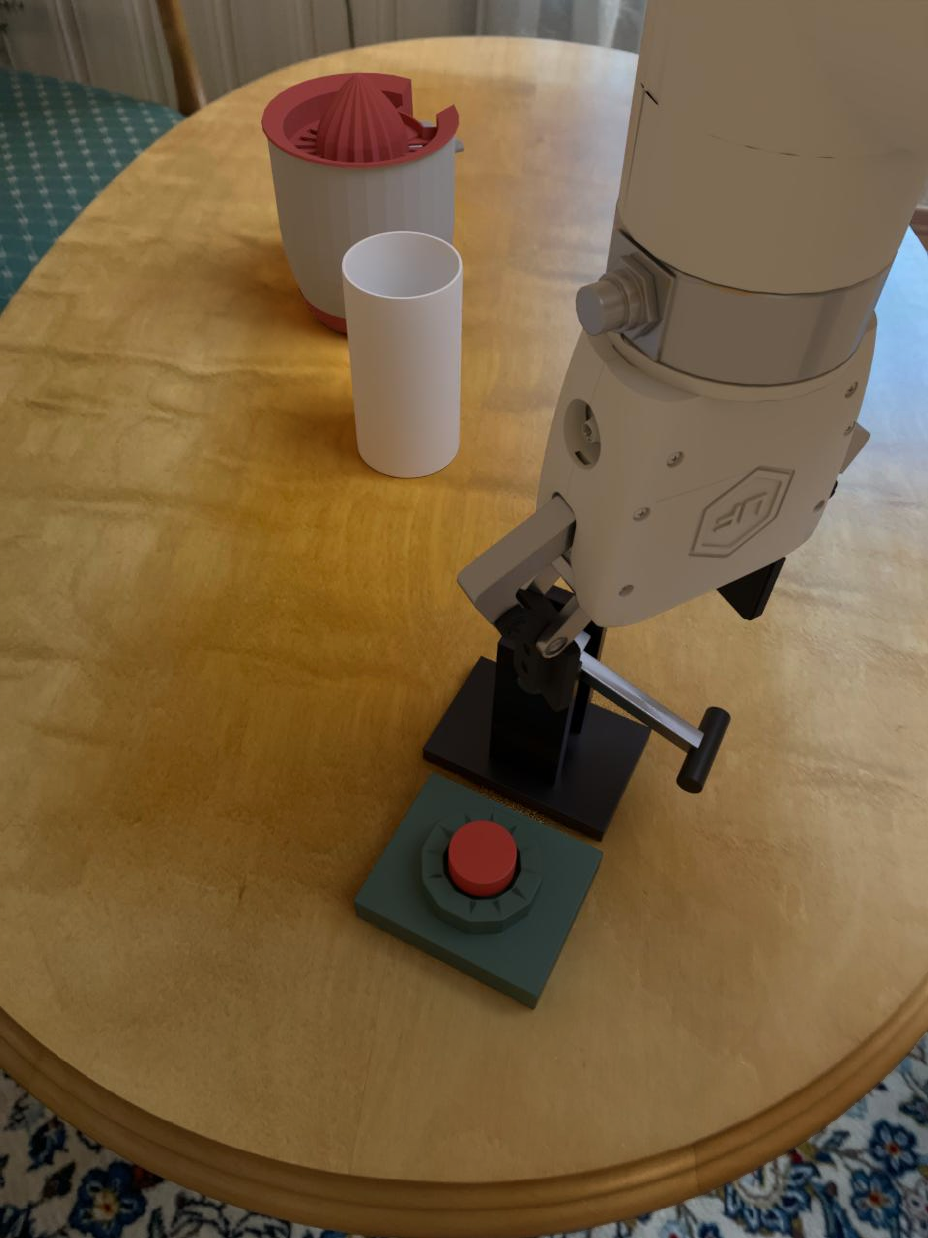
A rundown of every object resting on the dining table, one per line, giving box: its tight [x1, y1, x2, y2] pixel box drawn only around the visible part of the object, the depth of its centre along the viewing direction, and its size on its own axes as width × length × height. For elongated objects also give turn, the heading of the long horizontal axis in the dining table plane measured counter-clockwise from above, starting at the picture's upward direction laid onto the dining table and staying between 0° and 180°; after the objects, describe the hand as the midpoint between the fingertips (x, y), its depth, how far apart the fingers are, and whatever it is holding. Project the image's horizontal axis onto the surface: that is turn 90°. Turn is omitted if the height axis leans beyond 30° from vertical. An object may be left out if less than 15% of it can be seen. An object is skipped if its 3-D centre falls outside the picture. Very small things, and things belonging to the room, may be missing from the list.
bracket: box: [422, 584, 652, 843], centre depth 56 cm, size 12×8×13 cm, turn 63°
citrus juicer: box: [260, 72, 465, 334], centre depth 83 cm, size 16×17×20 cm
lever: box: [574, 630, 732, 795], centre depth 53 cm, size 12×5×2 cm, turn 63°
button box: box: [353, 771, 604, 1010], centre depth 54 cm, size 11×9×4 cm
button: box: [448, 820, 517, 897], centre depth 52 cm, size 4×4×2 cm
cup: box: [342, 231, 464, 479], centre depth 72 cm, size 8×8×16 cm
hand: (640, 638), depth 41 cm, fingers open, 9 cm apart
